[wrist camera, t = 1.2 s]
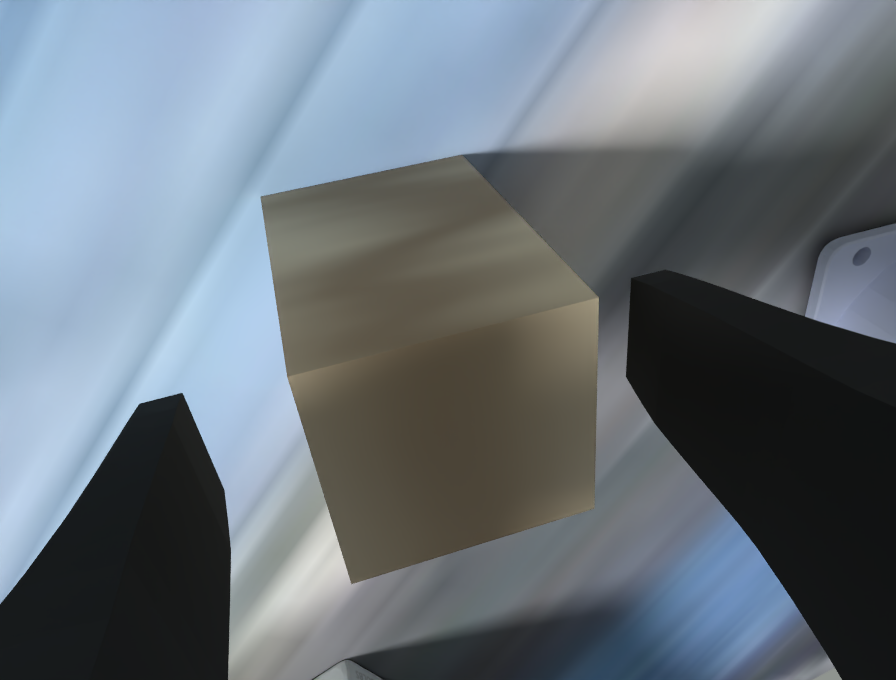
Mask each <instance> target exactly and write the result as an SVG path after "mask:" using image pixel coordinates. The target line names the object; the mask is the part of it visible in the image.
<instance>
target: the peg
mask: <svg viewBox="0 0 896 680" xmlns="http://www.w3.org/2000/svg"><path fill="white" fill-rule="evenodd" d="M261 203H262V210H263V216H264V223H265V230H266V237H267V243H268V250H269V257H270V264H271V270H272V277H273V284H274V290H275V297H276V304H277V311H278V317H279V324H280V331H281V337H282V344H283V351H284V358H285V364H286V371H287V377H288V380H289V384H290V387H291V390H292V393H293V397H294V400H295V403H296V406H297V410H298V413H299V416H300V419H301V422H302V426H303V429H304V432H305V435H306V439H307V442H308V445H309V448H310V451H311V455H312V458H313V461H314V464H315V468H316V471H317V474H318V477H319V481H320V484H321V487H322V490H323V493H324V497H325V500H326V503H327V506H328V510H329V513H330V516H331V519H332V522H333V526H334V529H335V532H336V535H337V539H338V542H339V545H340V548H341V552H342V555H343V558H344V561H345V564H346V568H347V571H348V574H349V577H350V581H351V584H353V583H356V582H360V581H363V580H366V579H369V578H373V577H376V576H379V575H382V574H385V573H389V572H392V571H395V570H398V569H401V568H405V567H408V566H411V565H414V564H418V563H421V562H424V561H427V560H430V559H434V558H437V557H440V556H443V555H447V554H450V553H453V552H456V551H459V550H463V549H466V548H469V547H472V546H475V545H479V544H482V543H485V542H488V541H492V540H495V539H498V538H501V537H504V536H508V535H511V534H514V533H517V532H521V531H524V530H527V529H530V528H533V527H537V526H540V525H543V524H546V523H549V522H553V521H556V520H559V519H562V518H566V517H569V516H572V515H575V514H578V513H582V512H585V511H588V510H591V509H594V501H595V455H596V409H597V362H598V316H599V297H598V296H597V295H596V294H595V293H594V292H593V291H592V290H591V289H590V288H589V287H588V286H587V285H586V284H585V283H584V281H583V280H582V279H581V278H580V277H579V276H578V275H577V274H576V273H575V272H574V271H573V270H572V269H571V268H570V267H569V266H568V265H567V264H566V263H565V262H564V261H563V260H562V259H561V257H560V256H559V255H558V254H557V253H556V252H555V251H554V250H553V249H552V248H551V247H550V246H549V245H548V244H547V243H546V242H545V241H544V240H543V239H542V238H541V237H540V236H539V235H538V233H537V232H536V231H535V230H534V229H533V228H532V227H531V226H530V225H529V224H528V223H527V222H526V221H525V220H524V219H523V218H522V217H521V216H520V215H519V214H518V213H517V212H516V211H515V209H514V208H513V207H512V206H511V205H510V204H509V203H508V202H507V201H506V200H505V199H504V198H503V197H502V196H501V195H500V194H499V193H498V192H497V191H496V190H495V189H494V188H493V187H492V185H491V184H490V183H489V182H488V181H487V180H486V179H485V178H484V177H483V176H482V175H481V174H480V173H479V172H478V171H477V170H476V169H475V168H474V167H473V166H472V165H471V164H470V163H469V161H468V160H467V159H466V158H465V157H464V156H463V155H458V156H453V157H449V158H444V159H439V160H434V161H429V162H425V163H420V164H415V165H410V166H405V167H401V168H396V169H391V170H386V171H381V172H377V173H372V174H367V175H362V176H357V177H353V178H348V179H343V180H338V181H333V182H329V183H324V184H319V185H314V186H309V187H305V188H300V189H295V190H290V191H285V192H281V193H276V194H271V195H266V196H261Z"/></svg>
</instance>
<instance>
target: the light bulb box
mask: <svg viewBox="0 0 896 680" xmlns="http://www.w3.org/2000/svg"><path fill="white" fill-rule="evenodd" d="M314 680H383V679H381V678H380V677H378V676H376V675H375V674H373V673H371V672H370V671H368V670H366V669H364V668H362V667H361V666H359V665H358V664H356V663H354V662H353V661H350V660H344V661H341V662H339V663H338V664H336V665H335V666H333V667H332V668H330V669H329V670H327V671H326V672H324V673H323V674H321V675H320V676H318V677H317V678H315V679H314Z"/></svg>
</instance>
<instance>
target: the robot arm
mask: <svg viewBox="0 0 896 680" xmlns="http://www.w3.org/2000/svg"><path fill="white" fill-rule="evenodd" d="M626 378H627V379H628V381H629V383H630V384H631V386H632V388H633V389H634V391H635V393H636V394H637V396H638V398H639V399H640V401H641V403H642V404H643V406H644V407H645V409H646V411H647V412H648V414H649V415H650V417H651V418H652V420H653V421H654V423H655V424H656V426H657V427H658V428H659V429H660V431H661V432H662V433H663V434H664V436H665V437H666V438H667V439H668V440H669V442H670V443H671V444H672V445H673V446H674V448H675V449H676V450H677V451H678V453H679V454H680V455H681V456H682V457H683V459H684V460H685V461H686V462H687V463H688V464H689V466H690V467H691V468H692V469H693V470H694V472H695V473H696V474H697V475H698V476H699V478H700V479H701V480H702V481H703V482H704V483H705V485H706V486H707V487H708V488H709V489H710V491H711V492H712V493H713V494H714V495H715V496H716V498H717V499H718V500H719V501H720V502H721V504H722V505H723V506H724V507H725V508H726V509H727V511H728V512H729V513H730V514H731V515H732V517H733V518H734V519H735V520H736V521H737V523H738V524H739V525H740V526H741V528H742V529H743V530H744V531H745V533H746V534H747V535H748V537H749V538H750V539H751V541H752V542H753V543H754V544H755V546H756V547H757V549H758V550H759V551H760V553H761V554H762V556H763V557H764V559H765V560H766V562H767V563H768V565H769V566H770V568H771V569H772V571H773V572H774V574H775V575H776V576H777V578H778V579H779V581H780V582H781V584H782V585H783V587H784V588H785V590H786V591H787V593H788V594H789V596H790V597H791V599H792V600H793V602H794V603H795V605H796V606H797V608H798V610H799V611H800V613H801V614H802V616H803V617H804V619H805V621H806V622H807V624H808V625H809V627H810V628H811V630H812V631H813V633H814V635H815V636H816V638H817V639H818V641H819V642H820V644H821V646H822V647H823V649H824V650H825V652H826V653H827V655H828V657H829V658H830V660H831V662H832V663H833V665H834V667H835V668H836V670H837V672H838V674H839V675H840V677H841V678H842V680H896V223H894V224H891V225H887V226H883V227H879V228H875V229H871V230H867V231H863V232H859V233H855V234H851V235H847V236H843V237H840V238H837V239H835V240H833V241H831V242H830V243H828V244H827V245H826V246H825V247H824V248H823V250H822V251H821V253H820V255H819V258H818V261H817V266H816V270H815V275H814V279H813V283H812V288H811V292H810V296H809V301H808V305H807V310H806V314H805V316H802V315H799V314H796V313H793V312H790V311H787V310H784V309H781V308H778V307H775V306H772V305H769V304H767V303H764V302H761V301H758V300H755V299H752V298H750V297H747V296H744V295H741V294H738V293H736V292H733V291H730V290H727V289H724V288H722V287H719V286H716V285H713V284H710V283H707V282H704V281H701V280H698V279H695V278H692V277H689V276H686V275H683V274H679V273H676V272H672V271H668V270H662V271H658V272H654V273H650V274H646V275H642V276H638V277H634V278H631V293H630V311H629V330H628V348H627V367H626ZM230 573H231V547H230V537H229V527H228V517H227V509H226V500H225V492H224V488H223V486H222V484H221V481H220V479H219V477H218V474H217V472H216V470H215V467H214V465H213V463H212V460H211V458H210V456H209V453H208V451H207V449H206V446H205V444H204V442H203V440H202V437H201V435H200V433H199V430H198V428H197V426H196V423H195V421H194V419H193V416H192V414H191V412H190V409H189V407H188V405H187V402H186V400H185V398H184V395H183V393H180V394H176V395H172V396H168V397H164V398H160V399H156V400H153V401H149V402H145V403H141V404H139V405H138V407H137V408H136V410H135V411H134V413H133V414H132V416H131V417H130V419H129V421H128V422H127V424H126V425H125V427H124V428H123V430H122V432H121V433H120V435H119V436H118V438H117V439H116V441H115V443H114V444H113V446H112V447H111V449H110V451H109V452H108V454H107V455H106V457H105V459H104V460H103V462H102V463H101V465H100V467H99V468H98V470H97V471H96V473H95V474H94V476H93V478H92V479H91V481H90V482H89V484H88V485H87V487H86V488H85V490H84V491H83V493H82V494H81V496H80V497H79V499H78V500H77V502H76V503H75V505H74V506H73V508H72V509H71V511H70V512H69V514H68V515H67V517H66V518H65V520H64V521H63V522H62V524H61V525H60V526H59V528H58V529H57V531H56V532H55V533H54V535H53V536H52V537H51V539H50V540H49V541H48V543H47V544H46V546H45V547H44V548H43V550H42V551H41V552H40V554H39V555H38V556H37V558H36V559H35V561H34V562H33V563H32V565H31V566H30V567H29V569H28V570H27V572H26V573H25V574H24V575H23V577H22V578H21V579H20V580H19V582H18V583H17V584H16V586H15V587H14V588H13V589H12V591H11V592H10V593H9V594H8V595H7V597H6V598H5V599H4V600H3V602H2V603H1V604H0V680H228V655H229V617H230Z"/></svg>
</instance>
